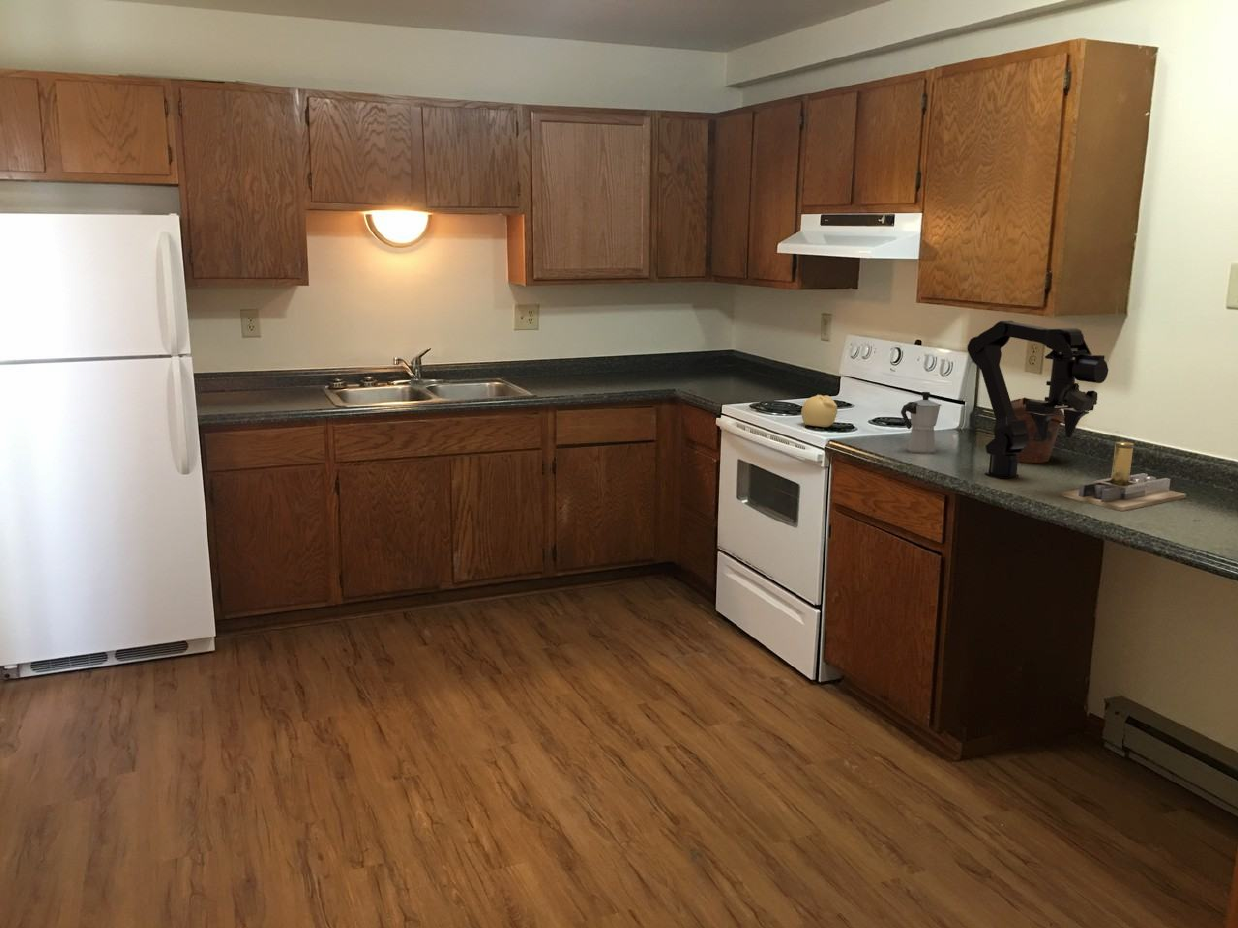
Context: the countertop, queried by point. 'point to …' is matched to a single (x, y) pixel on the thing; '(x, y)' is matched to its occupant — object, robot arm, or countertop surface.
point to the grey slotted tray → (1124, 488)
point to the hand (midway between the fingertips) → (1055, 438)
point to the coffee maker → (921, 424)
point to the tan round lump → (819, 411)
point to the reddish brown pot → (1037, 434)
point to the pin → (1122, 463)
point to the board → (1129, 503)
